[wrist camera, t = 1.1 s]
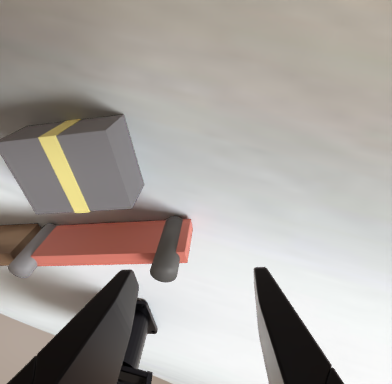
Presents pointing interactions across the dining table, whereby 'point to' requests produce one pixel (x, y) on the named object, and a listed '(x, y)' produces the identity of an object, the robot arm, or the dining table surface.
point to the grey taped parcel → (75, 165)
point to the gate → (110, 246)
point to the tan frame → (15, 240)
